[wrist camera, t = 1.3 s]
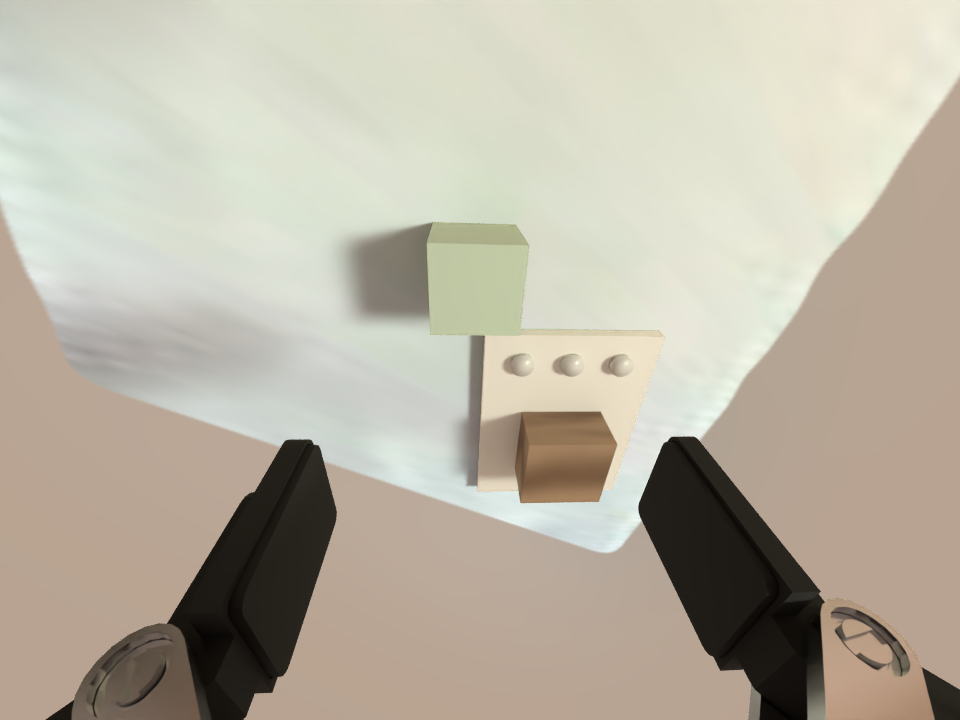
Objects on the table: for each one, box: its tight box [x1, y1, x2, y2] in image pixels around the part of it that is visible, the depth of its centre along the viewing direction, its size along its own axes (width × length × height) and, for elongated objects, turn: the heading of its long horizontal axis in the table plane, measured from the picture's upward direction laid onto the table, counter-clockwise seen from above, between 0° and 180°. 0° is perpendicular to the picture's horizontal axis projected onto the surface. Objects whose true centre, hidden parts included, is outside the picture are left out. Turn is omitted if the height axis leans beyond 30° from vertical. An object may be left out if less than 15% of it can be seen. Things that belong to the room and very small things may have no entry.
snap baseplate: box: [477, 329, 665, 492], centre depth 32 cm, size 18×14×2 cm
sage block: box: [427, 222, 529, 336], centre depth 23 cm, size 6×6×6 cm
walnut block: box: [515, 412, 617, 503], centre depth 32 cm, size 7×7×4 cm
